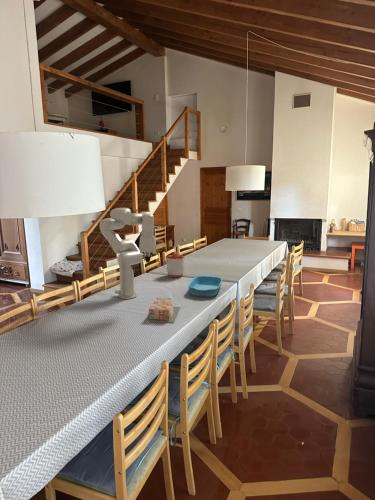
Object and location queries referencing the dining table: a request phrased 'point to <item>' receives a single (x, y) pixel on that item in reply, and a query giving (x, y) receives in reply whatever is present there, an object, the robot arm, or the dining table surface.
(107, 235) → the robot arm
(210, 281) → the casserole dish
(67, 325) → the dining table surface
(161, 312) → the stack of blocks
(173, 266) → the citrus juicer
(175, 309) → the mat
